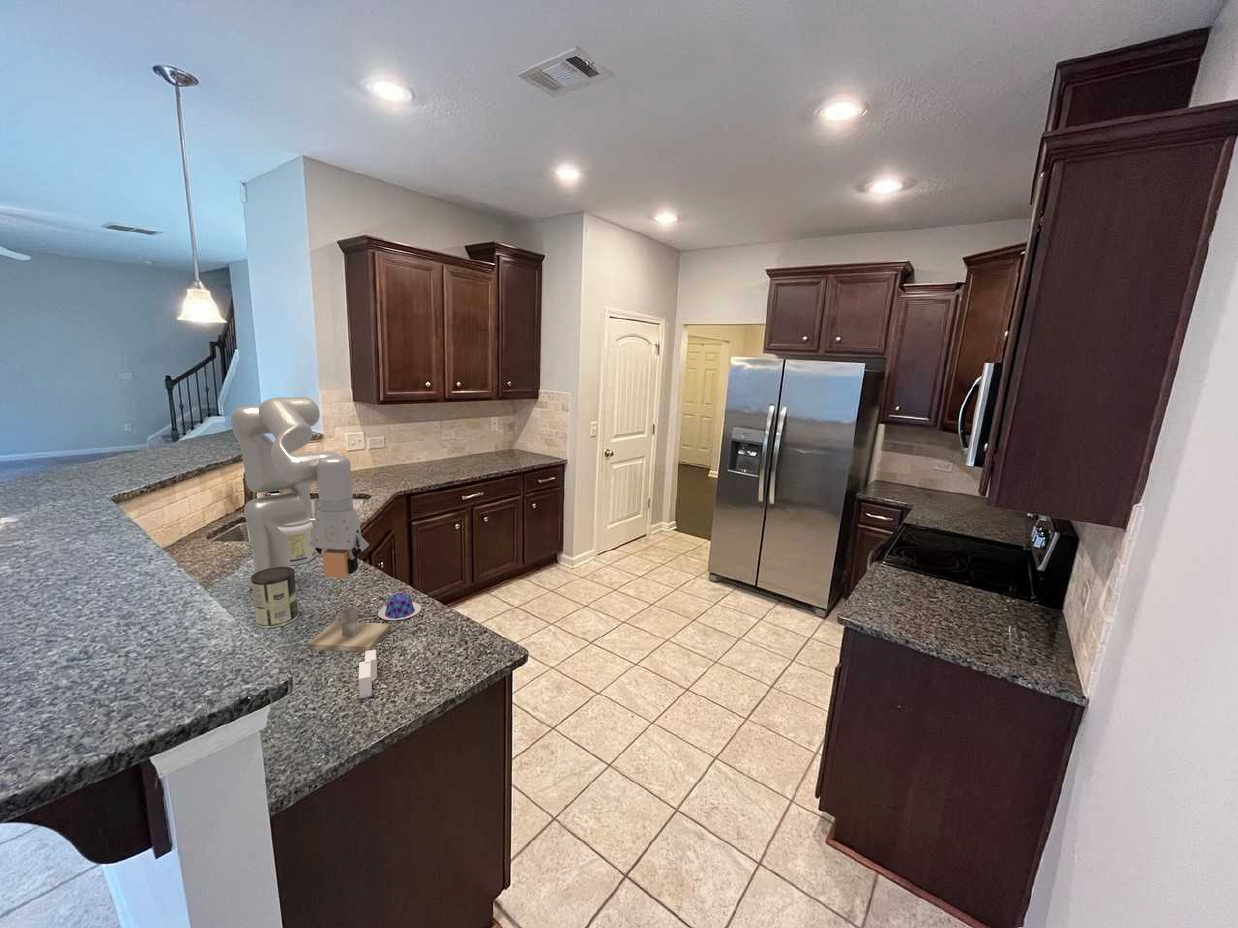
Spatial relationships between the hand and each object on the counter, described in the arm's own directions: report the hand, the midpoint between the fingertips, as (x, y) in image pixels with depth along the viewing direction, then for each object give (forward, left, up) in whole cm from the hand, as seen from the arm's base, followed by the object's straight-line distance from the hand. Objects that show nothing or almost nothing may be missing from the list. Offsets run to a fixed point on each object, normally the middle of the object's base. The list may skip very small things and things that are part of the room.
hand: (341, 570), depth 133 cm
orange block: (0, 0, -1) cm, 1 cm away
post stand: (+1, +1, -20) cm, 20 cm away
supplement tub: (-48, +52, -20) cm, 73 cm away
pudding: (+7, +17, -20) cm, 27 cm away
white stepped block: (+16, -17, -20) cm, 31 cm away
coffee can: (-25, +9, -20) cm, 33 cm away
